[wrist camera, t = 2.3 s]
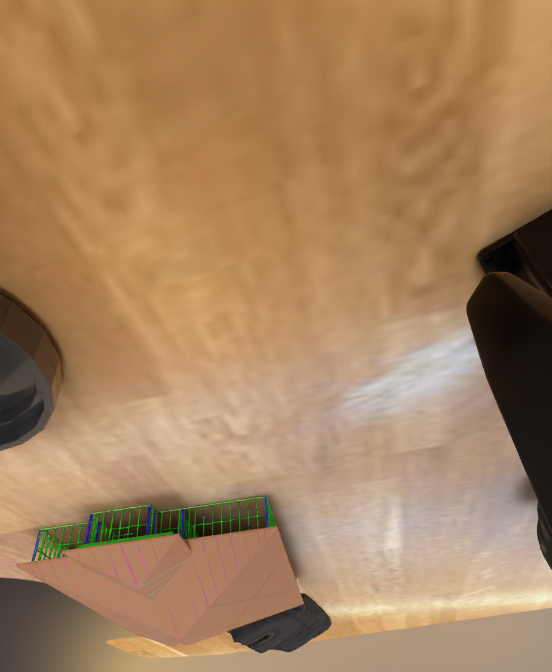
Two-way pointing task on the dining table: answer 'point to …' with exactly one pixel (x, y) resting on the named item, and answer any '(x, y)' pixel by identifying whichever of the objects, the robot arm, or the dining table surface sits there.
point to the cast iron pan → (25, 376)
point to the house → (174, 577)
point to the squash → (544, 536)
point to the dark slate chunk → (284, 628)
